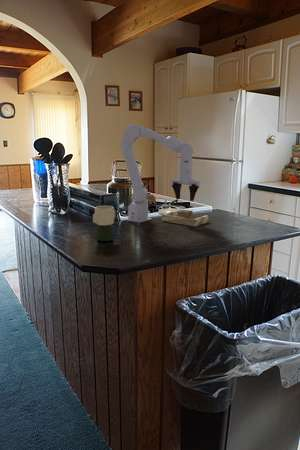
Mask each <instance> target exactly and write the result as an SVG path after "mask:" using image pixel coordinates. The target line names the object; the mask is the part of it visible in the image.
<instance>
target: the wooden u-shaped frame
mask: <svg viewBox="0 0 300 450" xmlns="http://www.w3.org/2000/svg"><path fill="white" fill-rule="evenodd" d="M177 215H178V211H173V212H169V213H165V214H162V215H161V221H162V222H166V223H167V222H168V223H173V224H177V225H182V226H183V225H185V226H190V227H198V226H200V225H202V224H203V225H204V224H206V223H208V222H209V215H206V214H205V215H203V216H199V217H197V218H192V219H190V218H184V217H178V216H177Z"/></svg>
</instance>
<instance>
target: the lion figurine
mask: <svg viewBox="0 0 300 450" xmlns="http://www.w3.org/2000/svg"><path fill="white" fill-rule="evenodd" d="M146 199H147V200H148V202H149V204H151V205H152V203H153V204H154V205H156V206H157V205H158V203H157V200H156V197H155V195H154V194H151V193H148V194H147V196H146Z"/></svg>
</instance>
